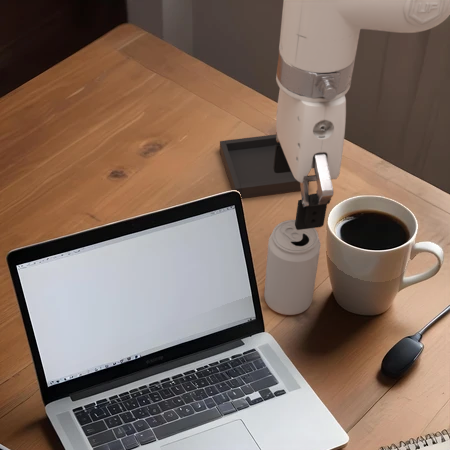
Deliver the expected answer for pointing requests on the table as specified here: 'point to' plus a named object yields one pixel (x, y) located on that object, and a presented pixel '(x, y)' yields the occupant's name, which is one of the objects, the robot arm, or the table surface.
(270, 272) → the beverage can
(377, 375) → the table surface
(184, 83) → the table surface
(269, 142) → the coaster
